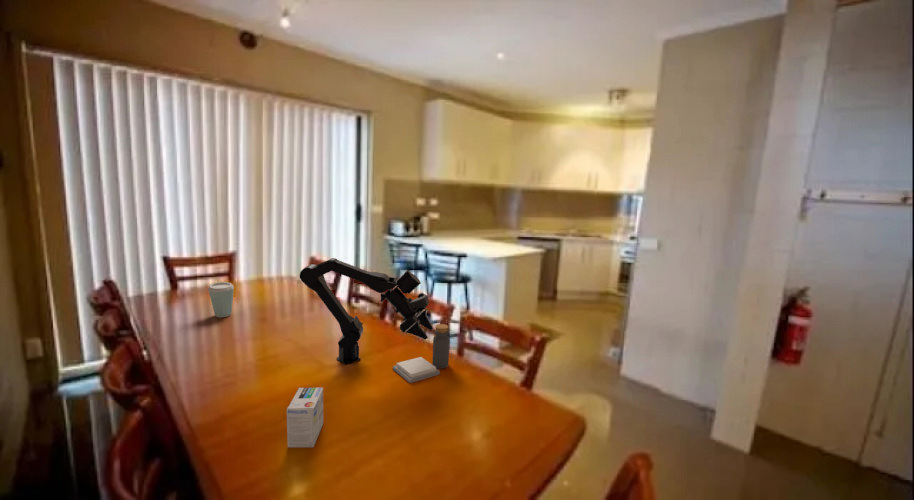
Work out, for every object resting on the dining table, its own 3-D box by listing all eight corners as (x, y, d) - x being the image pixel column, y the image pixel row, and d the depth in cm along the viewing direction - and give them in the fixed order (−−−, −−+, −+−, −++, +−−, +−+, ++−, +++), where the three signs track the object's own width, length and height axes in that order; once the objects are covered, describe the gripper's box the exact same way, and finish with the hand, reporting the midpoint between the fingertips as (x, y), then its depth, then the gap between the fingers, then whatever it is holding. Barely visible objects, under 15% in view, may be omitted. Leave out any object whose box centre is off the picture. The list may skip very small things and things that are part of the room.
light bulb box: (299, 423, 114) (298, 386, 112) (324, 423, 114) (323, 386, 113) (286, 448, 103) (285, 408, 102) (314, 448, 104) (313, 408, 102)
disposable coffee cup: (240, 315, 196) (238, 284, 194) (217, 321, 187) (215, 288, 185) (227, 310, 202) (226, 280, 199) (204, 316, 193) (202, 284, 190)
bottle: (446, 369, 149) (447, 329, 147) (430, 367, 151) (431, 328, 148) (449, 363, 155) (451, 324, 153) (434, 361, 156) (436, 322, 154)
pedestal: (410, 383, 139) (410, 376, 138) (392, 369, 148) (392, 362, 148) (439, 374, 146) (440, 367, 145) (421, 361, 155) (421, 355, 155)
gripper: (409, 295, 140) (440, 329, 141) (421, 281, 158) (449, 312, 159) (386, 315, 143) (417, 349, 143) (401, 300, 161) (428, 330, 161)
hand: (429, 333), depth 151 cm, fingers open, 9 cm apart
